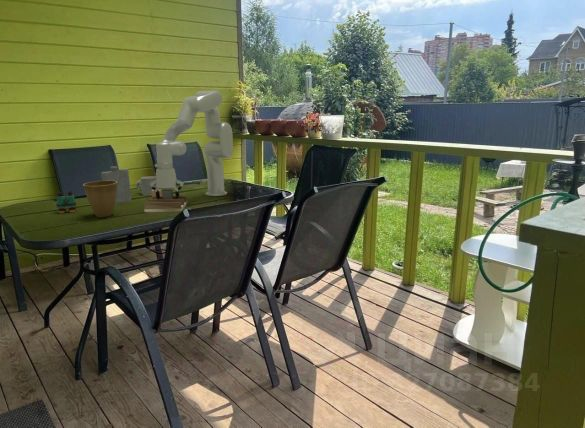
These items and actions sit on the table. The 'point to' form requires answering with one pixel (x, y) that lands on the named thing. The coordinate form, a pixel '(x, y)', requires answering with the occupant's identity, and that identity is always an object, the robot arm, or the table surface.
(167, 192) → the grey plug block
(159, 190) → the terracotta plug block
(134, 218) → the table surface
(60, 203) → the binoculars
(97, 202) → the plant pot
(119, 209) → the table surface
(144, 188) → the coffee mug
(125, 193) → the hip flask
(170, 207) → the cream shelf rack
